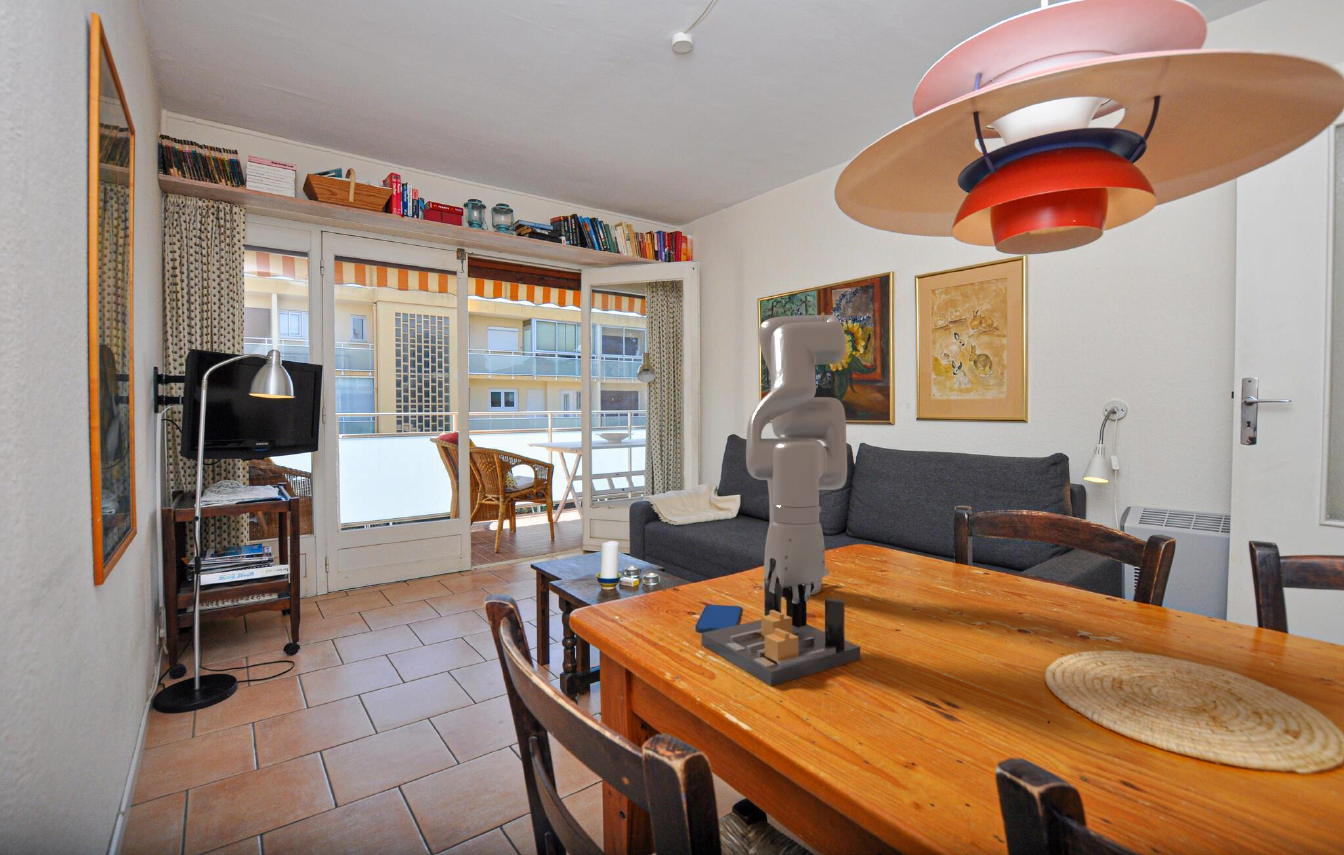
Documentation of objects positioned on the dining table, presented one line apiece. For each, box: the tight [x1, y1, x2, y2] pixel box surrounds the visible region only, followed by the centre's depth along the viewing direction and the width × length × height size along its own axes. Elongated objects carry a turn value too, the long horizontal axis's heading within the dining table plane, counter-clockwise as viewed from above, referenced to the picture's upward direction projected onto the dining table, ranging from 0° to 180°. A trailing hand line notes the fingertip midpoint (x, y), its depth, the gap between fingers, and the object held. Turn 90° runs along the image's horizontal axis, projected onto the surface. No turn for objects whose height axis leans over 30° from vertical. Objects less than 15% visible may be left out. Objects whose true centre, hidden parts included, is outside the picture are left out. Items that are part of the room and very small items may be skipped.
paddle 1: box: [760, 610, 792, 636], centre depth 98 cm, size 4×3×4 cm
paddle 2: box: [765, 628, 798, 662], centre depth 90 cm, size 4×3×4 cm
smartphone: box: [694, 604, 743, 633], centre depth 113 cm, size 7×1×15 cm
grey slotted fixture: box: [701, 578, 861, 687], centre depth 98 cm, size 18×19×9 cm
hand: (796, 624), depth 100 cm, fingers closed
